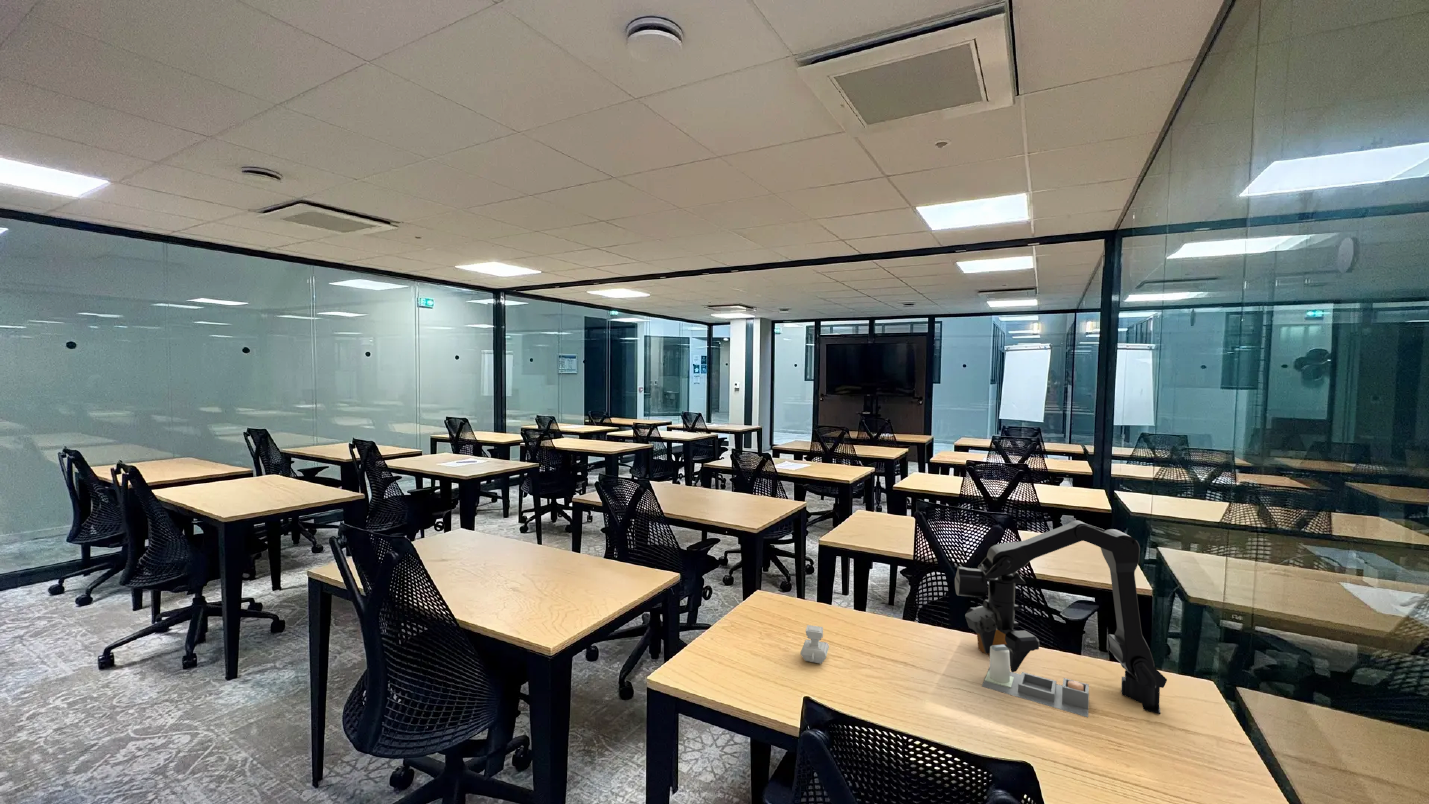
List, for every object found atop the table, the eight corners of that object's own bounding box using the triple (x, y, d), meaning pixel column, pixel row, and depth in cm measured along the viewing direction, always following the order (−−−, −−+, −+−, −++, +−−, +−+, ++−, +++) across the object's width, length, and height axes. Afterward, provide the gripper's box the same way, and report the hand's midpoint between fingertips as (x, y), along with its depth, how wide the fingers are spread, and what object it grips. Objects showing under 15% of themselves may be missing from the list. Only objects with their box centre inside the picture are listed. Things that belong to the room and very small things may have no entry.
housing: (1088, 699, 129) (1089, 678, 129) (1087, 724, 119) (1088, 701, 119) (989, 671, 141) (990, 652, 141) (981, 692, 131) (982, 671, 131)
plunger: (1083, 697, 126) (1083, 683, 126) (1083, 703, 123) (1083, 689, 123) (1067, 693, 127) (1068, 679, 127) (1067, 698, 125) (1067, 684, 125)
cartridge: (1001, 673, 137) (1002, 641, 137) (1013, 682, 132) (1014, 649, 132) (985, 674, 136) (986, 642, 136) (997, 683, 132) (998, 650, 132)
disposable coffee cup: (1008, 668, 143) (1009, 622, 143) (968, 657, 149) (969, 613, 149) (1014, 654, 151) (1015, 611, 150) (976, 644, 156) (977, 602, 156)
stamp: (825, 669, 141) (825, 637, 141) (799, 665, 143) (800, 633, 143) (829, 654, 149) (829, 623, 149) (804, 650, 151) (805, 619, 151)
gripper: (948, 586, 142) (947, 646, 142) (997, 616, 123) (996, 685, 124) (987, 584, 144) (986, 644, 144) (1041, 613, 125) (1040, 681, 126)
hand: (1000, 662), depth 134 cm, fingers open, 9 cm apart
